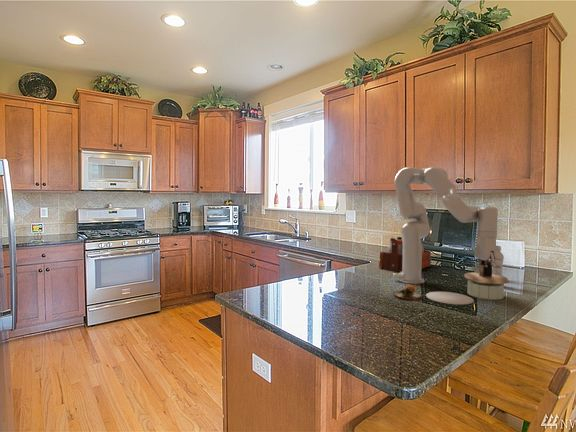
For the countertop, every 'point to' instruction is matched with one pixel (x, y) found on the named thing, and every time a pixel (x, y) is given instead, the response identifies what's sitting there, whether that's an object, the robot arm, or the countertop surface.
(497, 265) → the plastic bottle
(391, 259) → the milk bottle holder
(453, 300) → the pad
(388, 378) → the countertop surface
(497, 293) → the bowl
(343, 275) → the countertop surface
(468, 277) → the lid
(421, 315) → the countertop surface
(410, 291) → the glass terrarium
